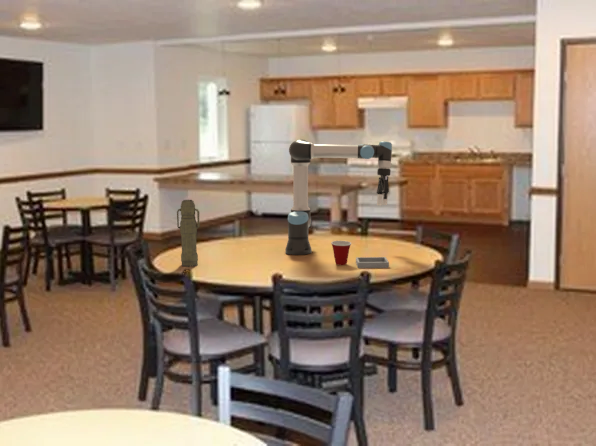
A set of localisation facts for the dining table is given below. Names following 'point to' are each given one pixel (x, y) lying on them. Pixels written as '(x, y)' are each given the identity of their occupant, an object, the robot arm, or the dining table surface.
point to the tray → (372, 262)
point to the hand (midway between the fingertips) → (381, 205)
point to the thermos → (188, 233)
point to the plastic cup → (341, 251)
